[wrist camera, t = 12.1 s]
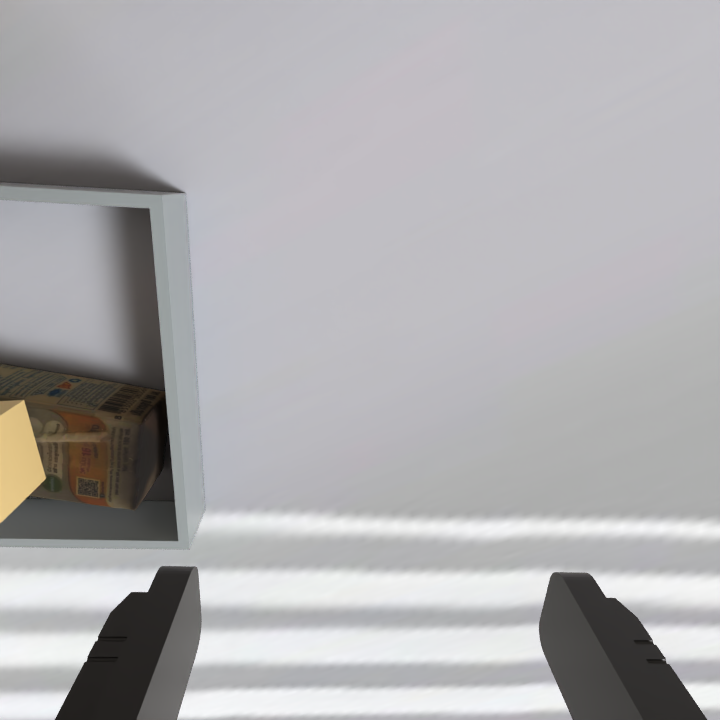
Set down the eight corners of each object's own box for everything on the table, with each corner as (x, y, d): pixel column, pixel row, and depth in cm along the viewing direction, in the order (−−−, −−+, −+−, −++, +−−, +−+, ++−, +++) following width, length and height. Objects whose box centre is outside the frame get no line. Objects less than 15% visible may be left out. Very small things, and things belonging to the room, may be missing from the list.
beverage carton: (-80, 343, 37) (-163, 376, 31) (176, 385, 40) (147, 424, 33) (-71, 434, 40) (-146, 481, 34) (169, 469, 42) (140, 519, 36)
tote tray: (-158, 172, 33) (-241, 171, 28) (185, 193, 34) (161, 195, 29) (-63, 504, 42) (-113, 545, 37) (205, 509, 43) (189, 549, 39)
